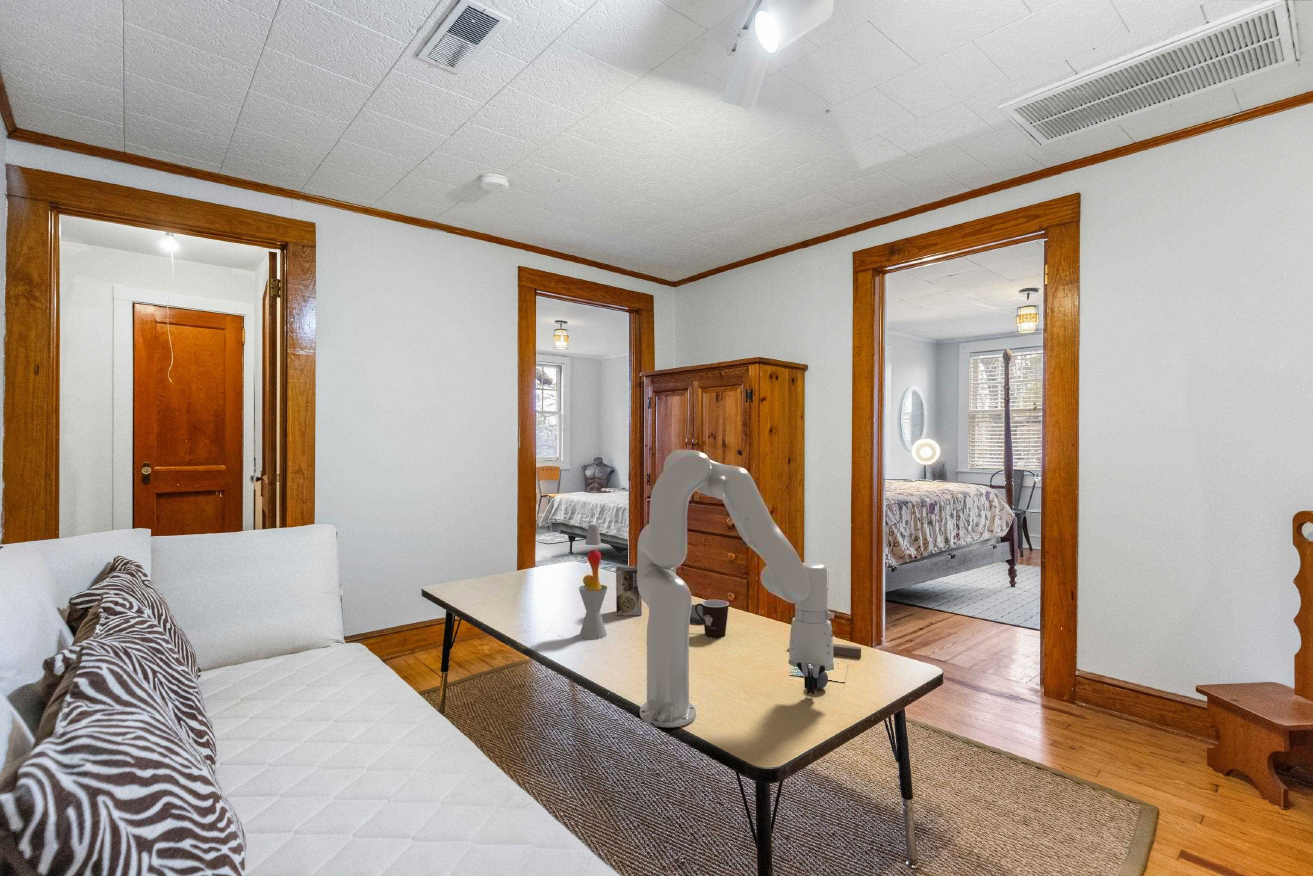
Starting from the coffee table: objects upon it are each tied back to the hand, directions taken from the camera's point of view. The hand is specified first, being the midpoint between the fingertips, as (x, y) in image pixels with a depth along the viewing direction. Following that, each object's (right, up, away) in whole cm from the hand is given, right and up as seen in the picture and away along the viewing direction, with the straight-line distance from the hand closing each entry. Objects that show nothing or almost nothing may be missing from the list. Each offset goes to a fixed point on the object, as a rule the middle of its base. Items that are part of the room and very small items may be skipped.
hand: (811, 691), depth 147 cm
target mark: (+7, -2, +18) cm, 19 cm away
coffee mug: (-19, -2, +48) cm, 52 cm away
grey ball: (+3, +1, +6) cm, 6 cm away
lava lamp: (-57, -2, +46) cm, 74 cm away
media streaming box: (-22, -2, +66) cm, 70 cm away
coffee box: (-47, -2, +70) cm, 85 cm away
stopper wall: (+12, -2, +31) cm, 33 cm away
